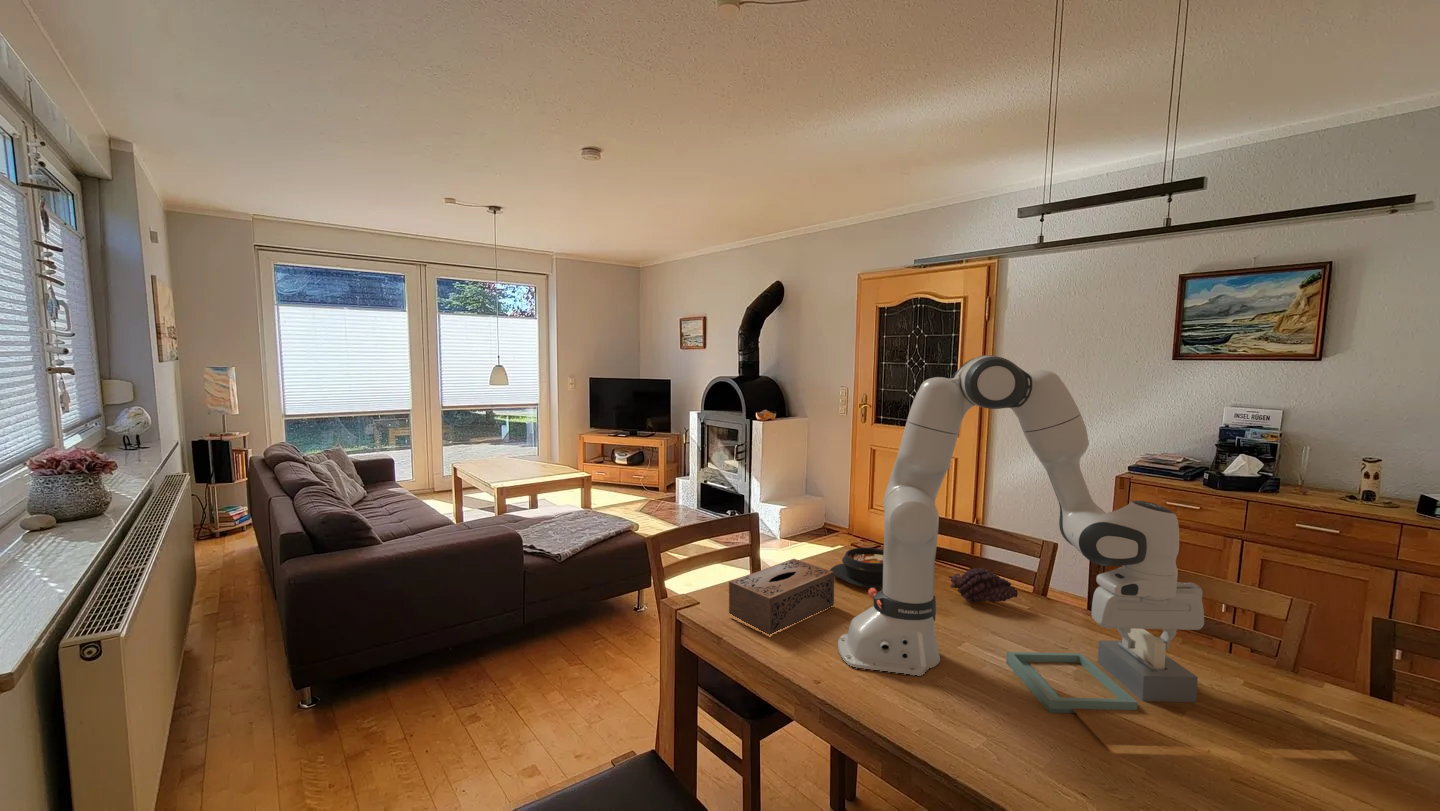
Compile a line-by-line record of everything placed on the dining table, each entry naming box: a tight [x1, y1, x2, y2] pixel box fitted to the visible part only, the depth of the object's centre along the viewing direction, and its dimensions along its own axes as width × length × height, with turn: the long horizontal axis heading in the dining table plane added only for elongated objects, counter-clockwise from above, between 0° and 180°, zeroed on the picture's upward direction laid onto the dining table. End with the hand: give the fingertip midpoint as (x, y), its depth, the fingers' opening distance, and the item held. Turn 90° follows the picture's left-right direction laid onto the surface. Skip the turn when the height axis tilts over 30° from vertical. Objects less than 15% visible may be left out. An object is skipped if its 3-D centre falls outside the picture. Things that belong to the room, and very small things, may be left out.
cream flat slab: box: [1128, 629, 1167, 670], centre depth 116 cm, size 2×8×10 cm, turn 177°
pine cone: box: [948, 567, 1019, 604], centre depth 155 cm, size 18×10×10 cm, turn 56°
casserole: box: [829, 547, 884, 590], centre depth 172 cm, size 25×19×8 cm
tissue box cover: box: [728, 558, 835, 635], centre depth 151 cm, size 26×14×10 cm, turn 132°
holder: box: [1097, 640, 1199, 703], centre depth 116 cm, size 10×14×7 cm
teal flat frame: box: [1005, 651, 1138, 714], centre depth 116 cm, size 16×18×2 cm
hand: (1145, 647), depth 115 cm, fingers open, 5 cm apart
